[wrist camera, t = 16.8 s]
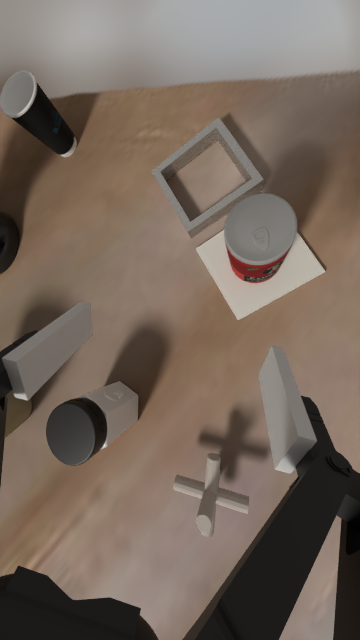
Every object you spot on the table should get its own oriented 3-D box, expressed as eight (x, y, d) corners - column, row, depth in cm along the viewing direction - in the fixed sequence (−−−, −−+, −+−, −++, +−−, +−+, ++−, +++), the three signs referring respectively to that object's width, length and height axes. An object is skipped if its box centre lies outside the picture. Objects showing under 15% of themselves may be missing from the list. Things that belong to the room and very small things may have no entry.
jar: (149, 401, 39) (109, 430, 28) (127, 439, 40) (79, 482, 28) (111, 372, 41) (60, 388, 30) (91, 408, 42) (34, 437, 31)
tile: (196, 250, 38) (195, 248, 37) (272, 199, 35) (272, 197, 34) (238, 320, 35) (238, 320, 35) (324, 272, 32) (325, 271, 32)
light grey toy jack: (251, 447, 34) (253, 493, 24) (244, 514, 34) (244, 586, 24) (187, 432, 37) (167, 467, 27) (181, 493, 37) (158, 550, 27)
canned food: (247, 294, 35) (247, 277, 24) (220, 253, 36) (210, 221, 26) (292, 266, 33) (315, 234, 23) (263, 224, 35) (270, 177, 24)
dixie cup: (48, 143, 49) (-6, 91, 39) (75, 120, 47) (26, 59, 37) (59, 171, 48) (6, 126, 37) (88, 148, 46) (41, 94, 35)
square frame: (156, 180, 41) (151, 171, 39) (220, 130, 38) (218, 117, 36) (191, 238, 38) (187, 232, 36) (262, 189, 35) (263, 179, 33)
